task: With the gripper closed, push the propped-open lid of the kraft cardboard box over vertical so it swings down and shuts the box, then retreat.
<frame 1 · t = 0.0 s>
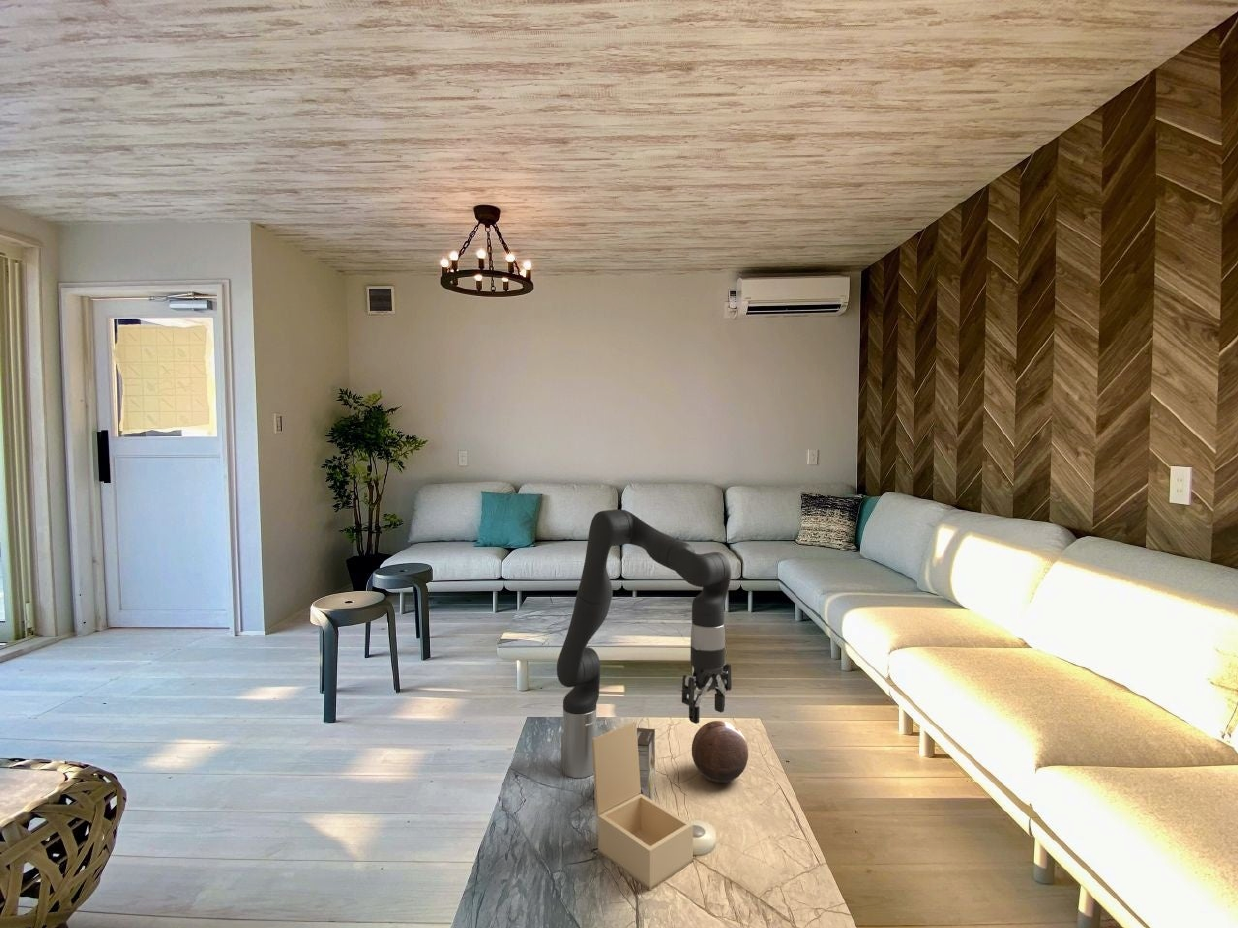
hand: (707, 716, 134), 29 cm above the table, fingers open, 8 cm apart
box: (644, 856, 132), on the table
wooden sphere: (719, 779, 164), on the table
coffee box: (640, 798, 154), on the table
cream domed button: (695, 841, 137), on the table
lid: (616, 766, 138), point 16 cm above the table, hinge at 96.0°
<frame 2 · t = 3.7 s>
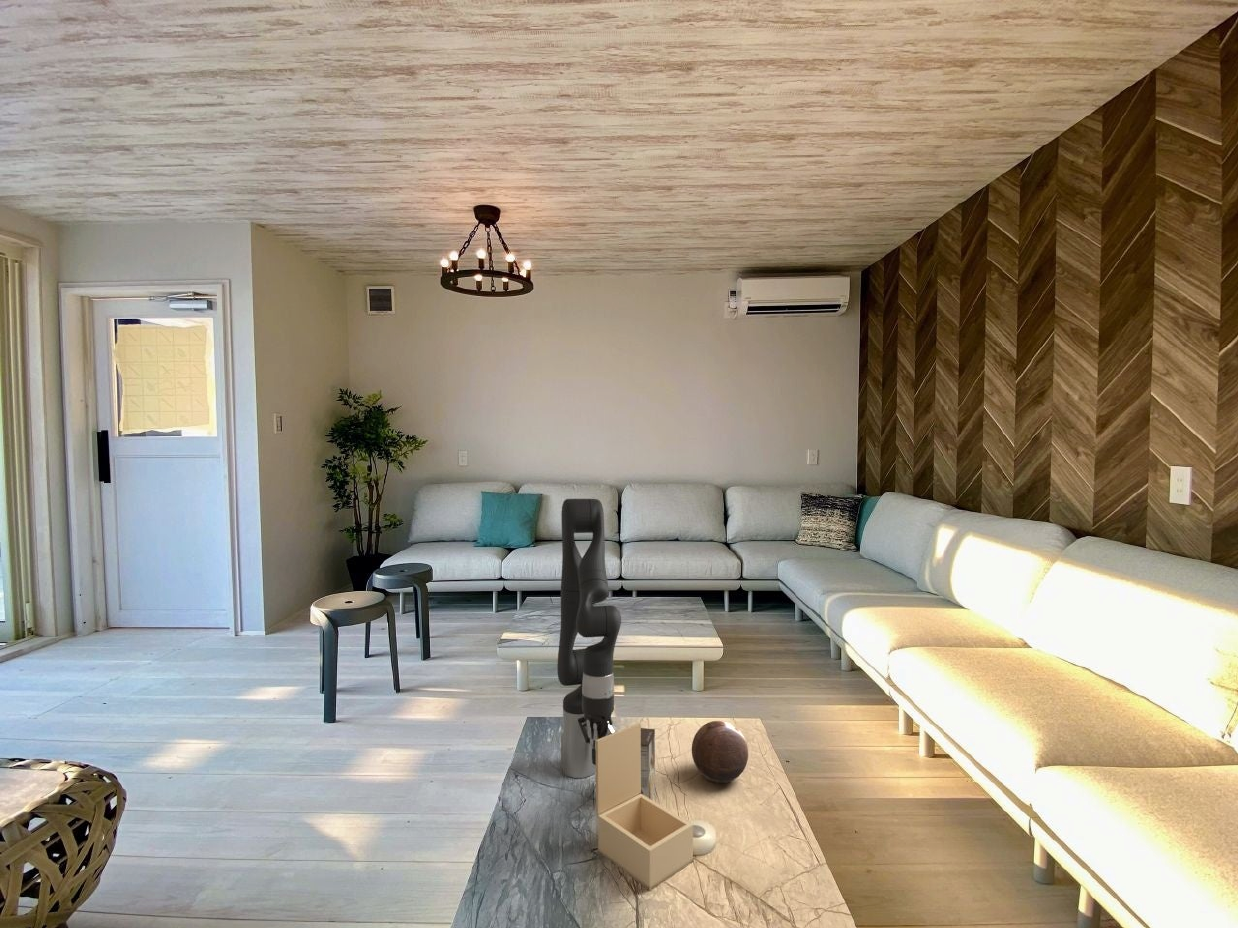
hand: (597, 764, 143), 14 cm above the table, fingers closed
lid: (618, 767, 138), point 16 cm above the table, hinge at 90.9°
everything else where it was.
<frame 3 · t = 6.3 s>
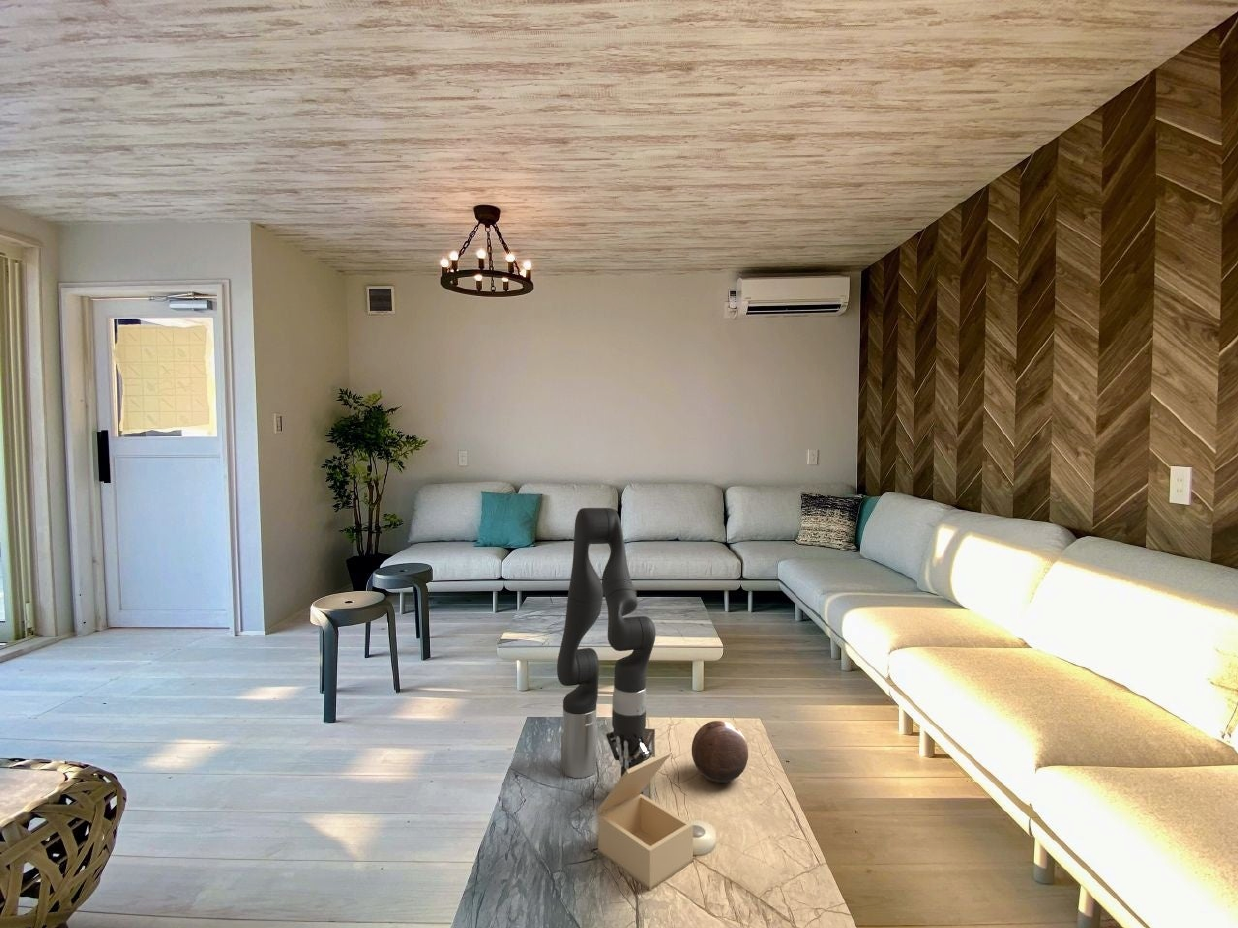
hand: (627, 782, 136), 14 cm above the table, fingers closed
lid: (633, 781, 134), point 15 cm above the table, hinge at 53.2°, touching gripper
everything else where it was.
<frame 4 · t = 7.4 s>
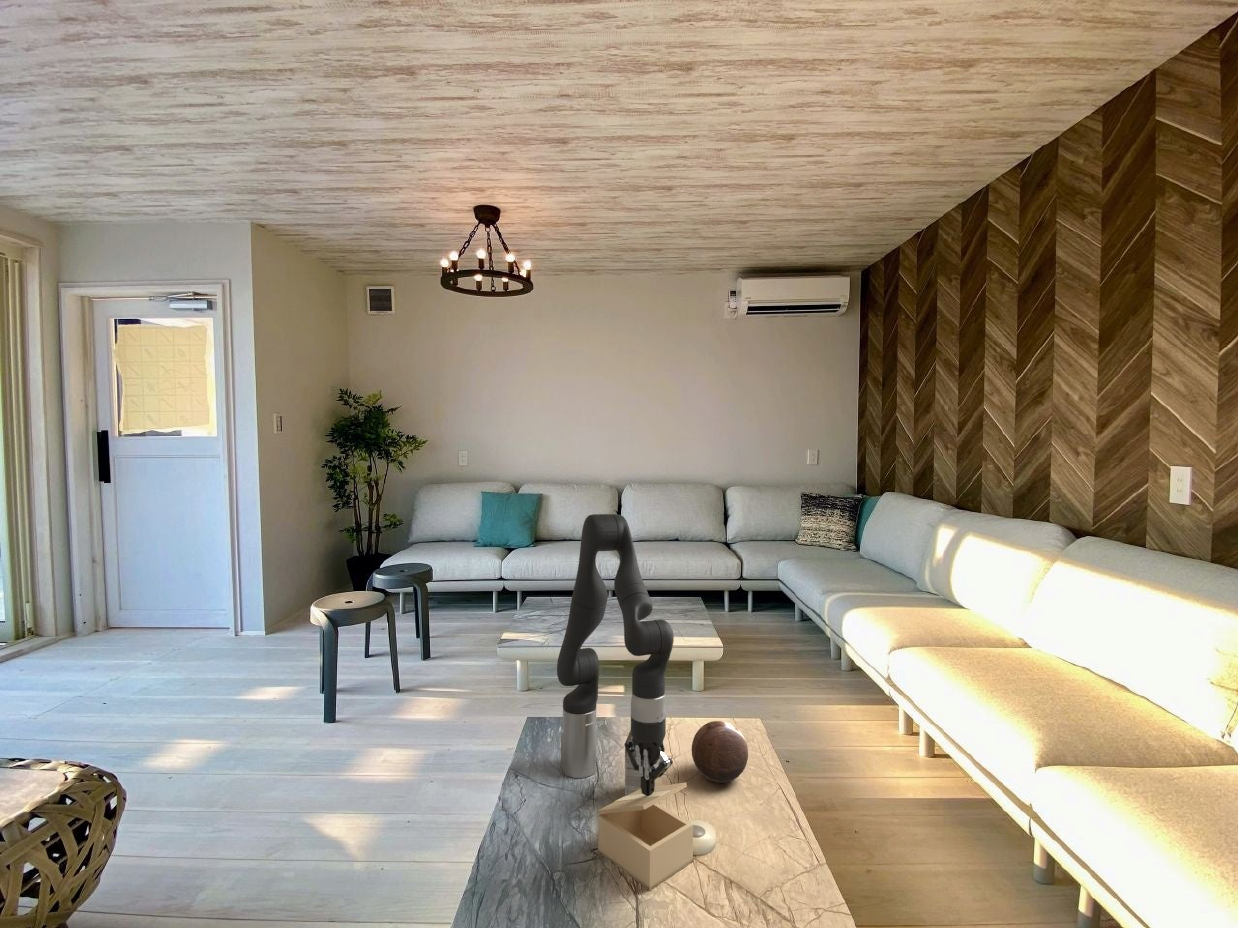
hand: (647, 793, 131), 14 cm above the table, fingers closed
lid: (641, 798, 132), point 12 cm above the table, hinge at 27.2°, touching gripper
everything else where it was.
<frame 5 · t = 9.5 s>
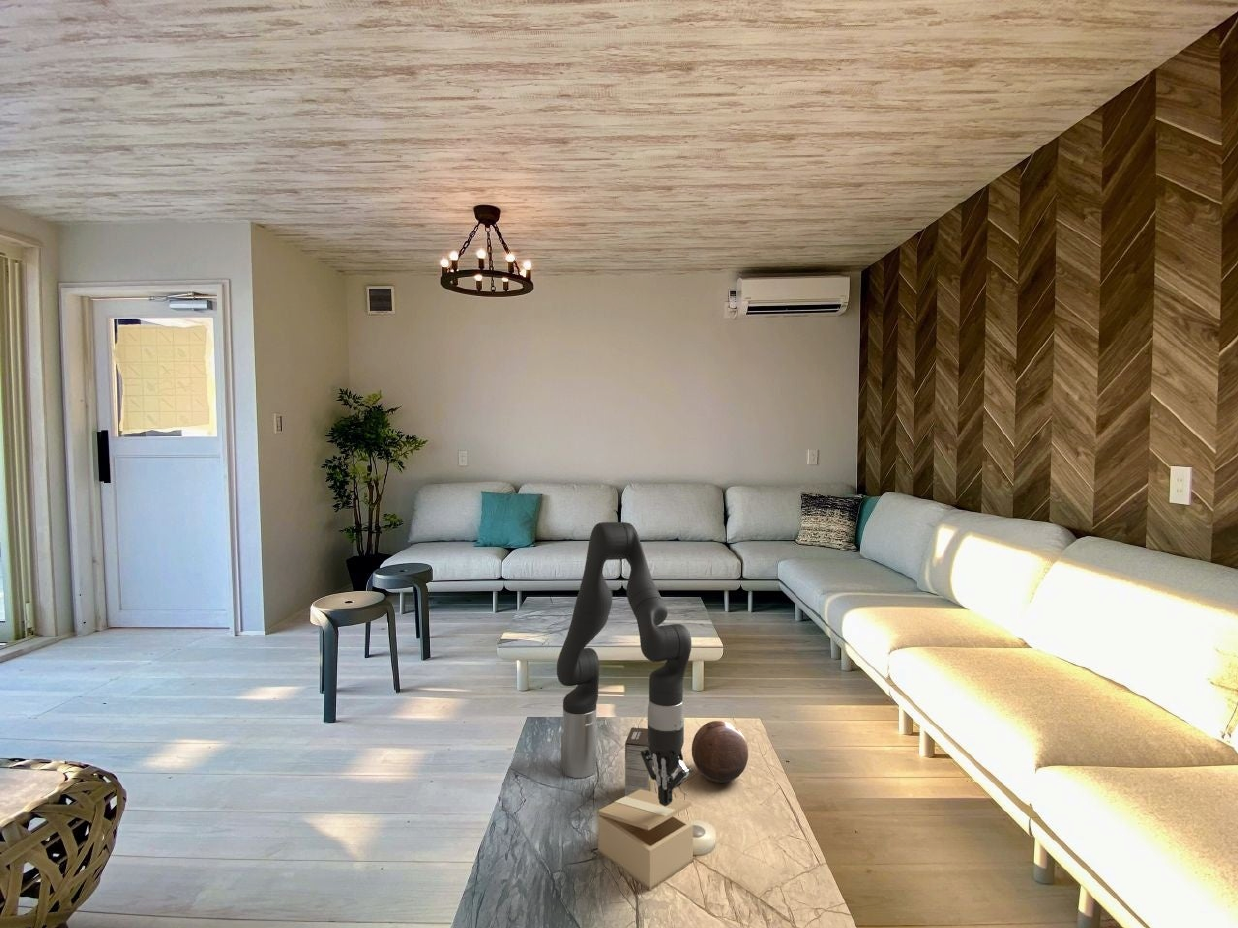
hand: (665, 803, 127), 14 cm above the table, fingers closed
lid: (644, 807, 132), point 11 cm above the table, hinge at 13.5°
everything else where it was.
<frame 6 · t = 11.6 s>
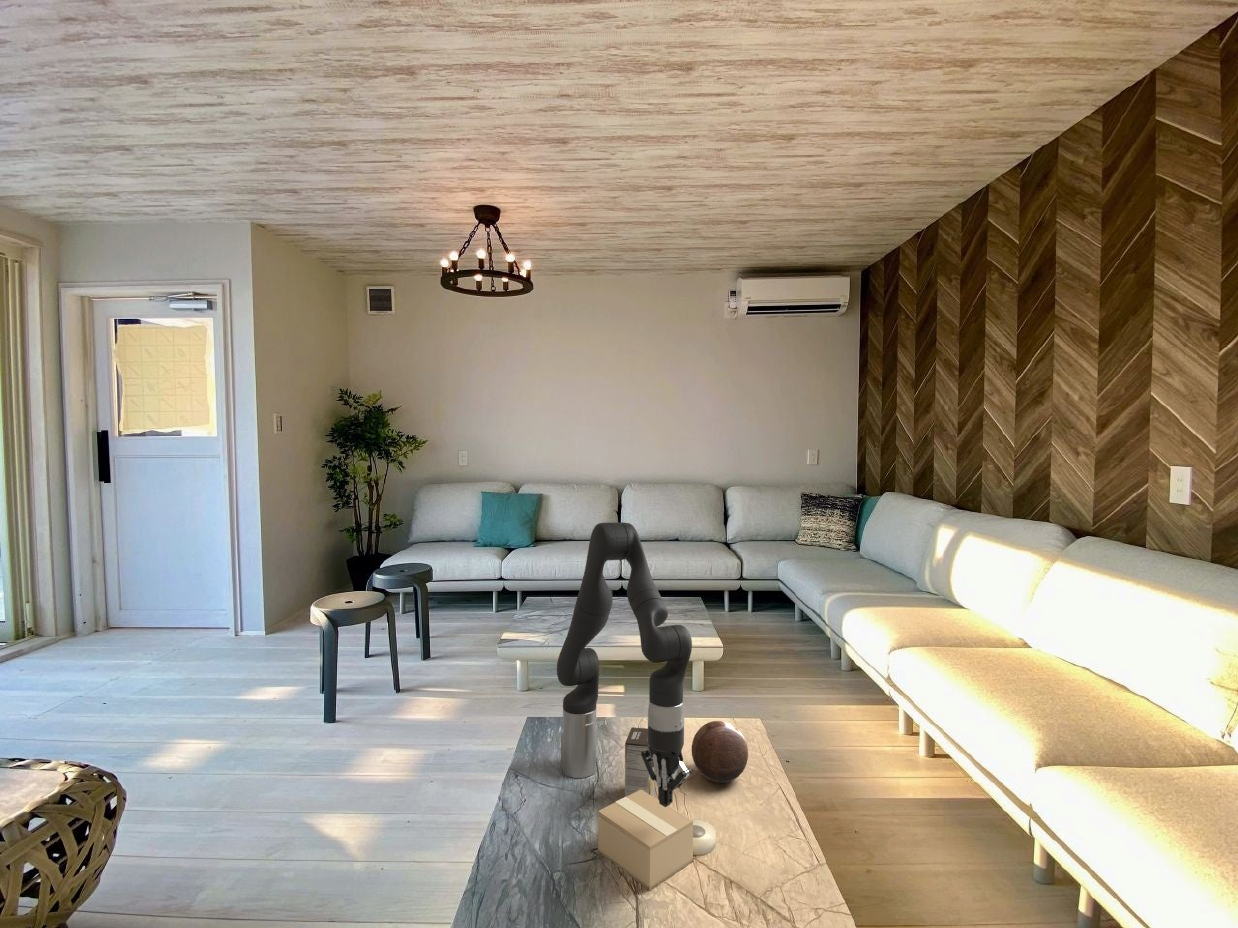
hand: (665, 804, 127), 14 cm above the table, fingers closed
lid: (645, 817, 132), point 9 cm above the table, hinge at -0.7°, touching box
everything else where it was.
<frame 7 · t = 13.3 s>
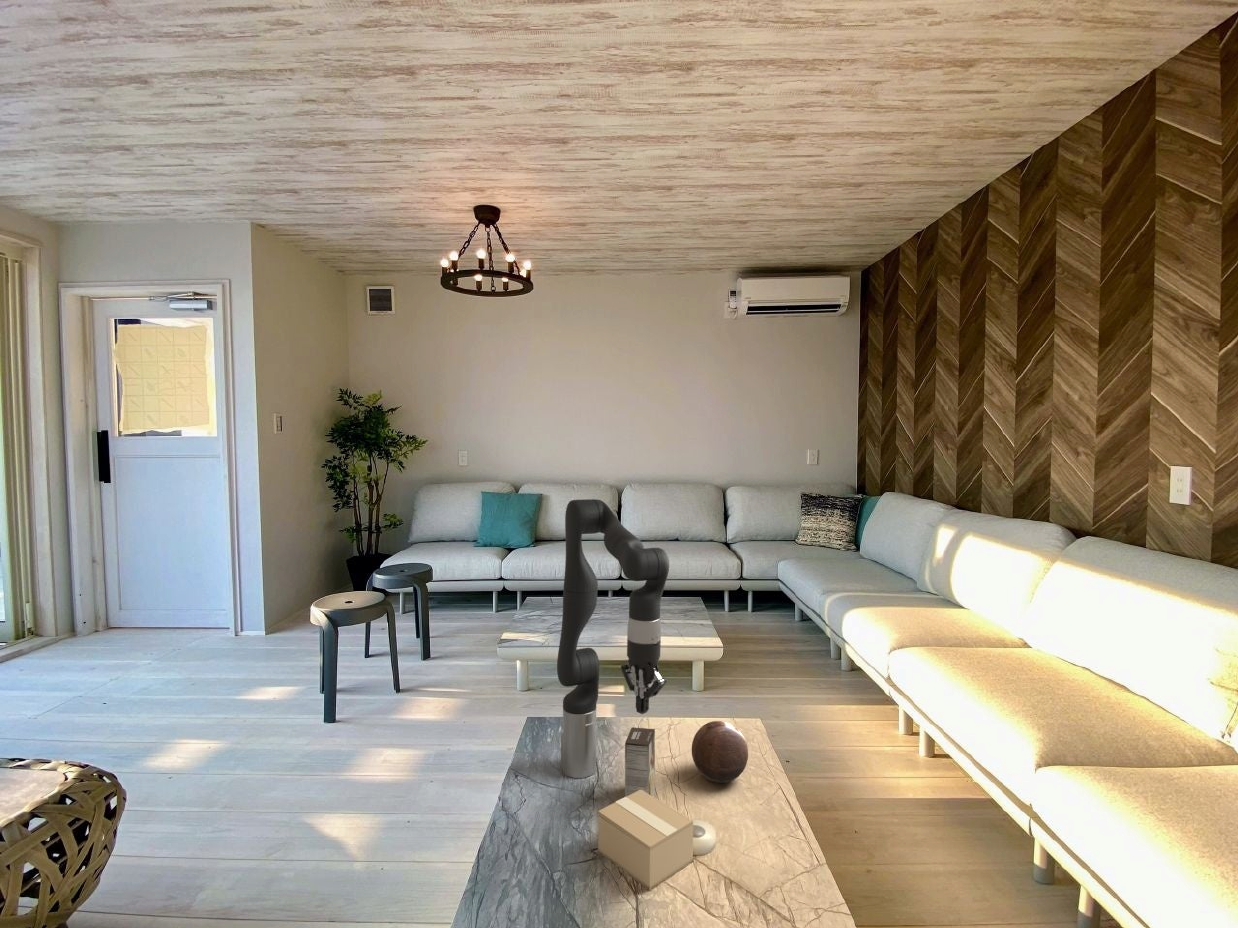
hand: (642, 712, 137), 29 cm above the table, fingers closed
nothing on the table moved.
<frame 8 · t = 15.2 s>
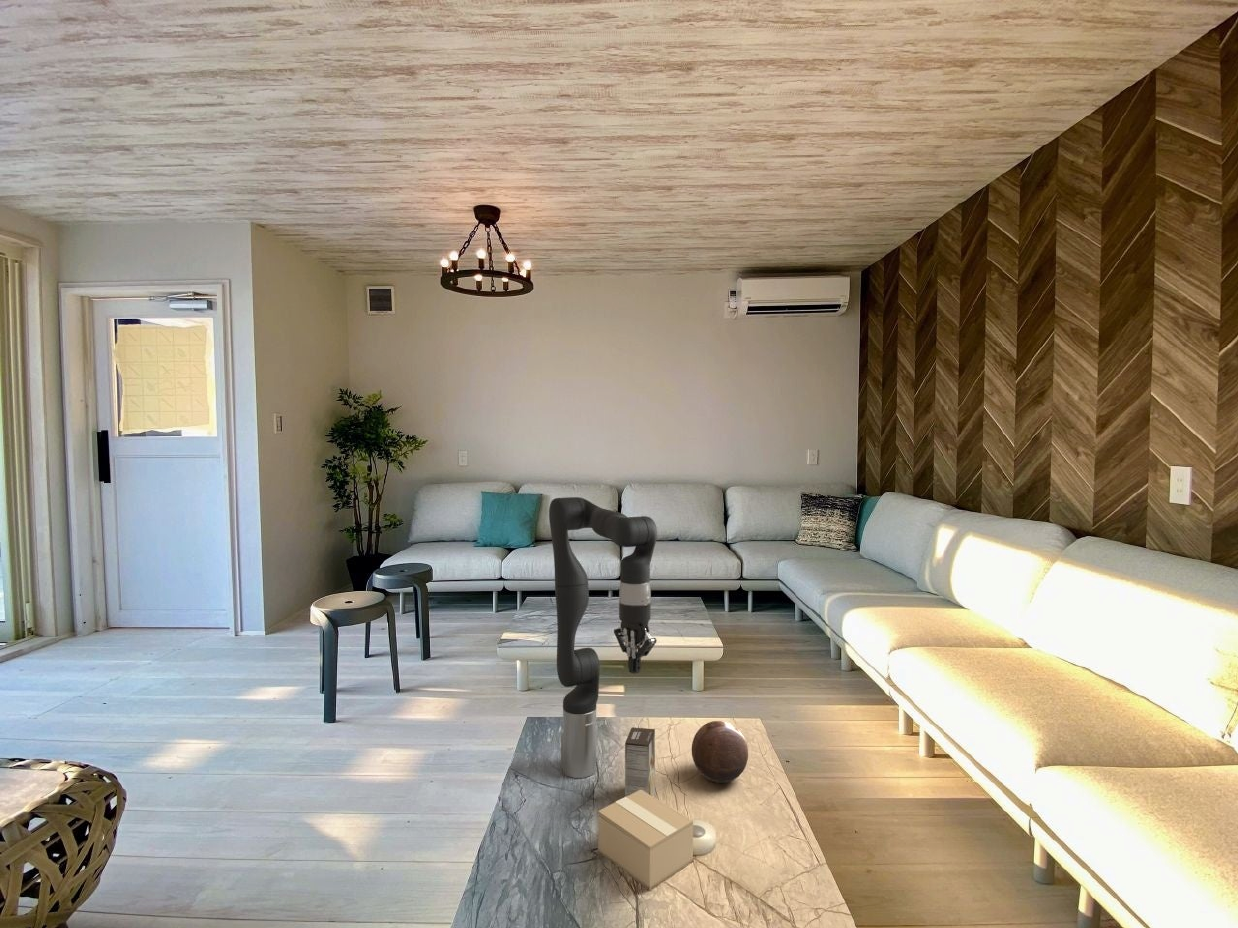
hand: (634, 672, 145), 35 cm above the table, fingers closed
nothing on the table moved.
at the end: lid at -1° (first picture: +96°) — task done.
